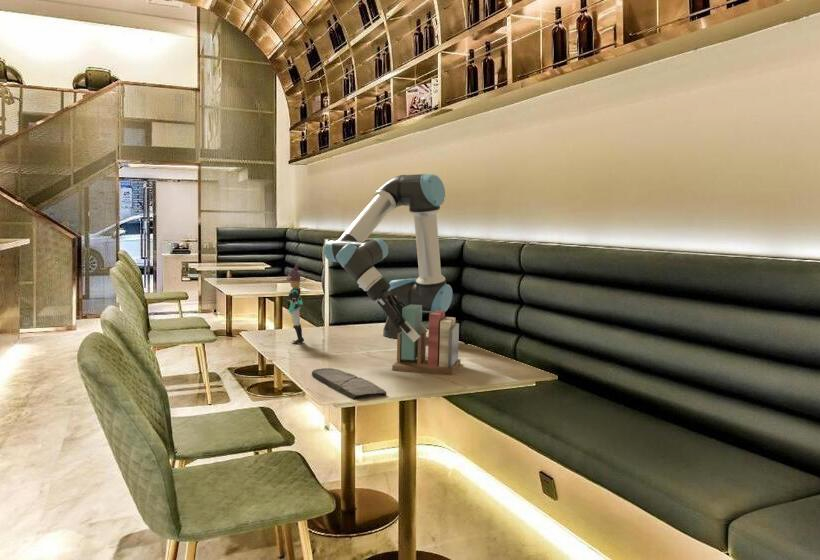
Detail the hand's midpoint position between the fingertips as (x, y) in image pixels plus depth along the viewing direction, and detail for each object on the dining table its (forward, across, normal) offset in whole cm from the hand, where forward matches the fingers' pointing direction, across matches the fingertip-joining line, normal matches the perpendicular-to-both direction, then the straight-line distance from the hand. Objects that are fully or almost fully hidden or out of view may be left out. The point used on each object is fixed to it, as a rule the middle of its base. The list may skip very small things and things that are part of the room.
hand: (421, 336), depth 193 cm
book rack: (+9, 0, -5) cm, 10 cm away
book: (+3, 0, -7) cm, 7 cm away
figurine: (-31, -21, -45) cm, 58 cm away
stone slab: (-3, +29, -17) cm, 34 cm away
